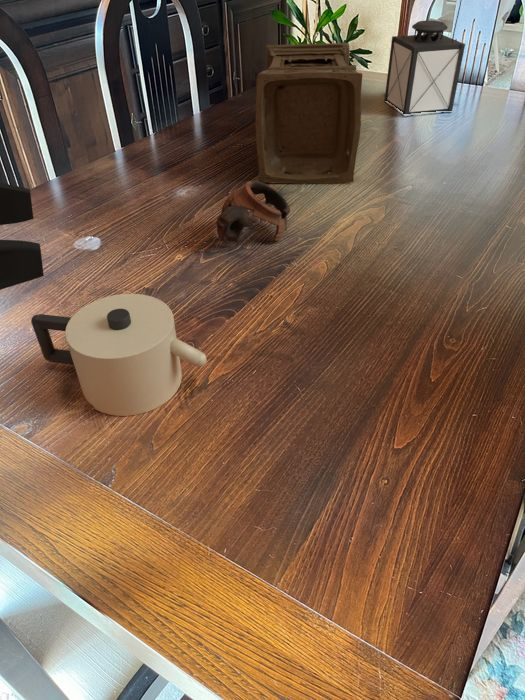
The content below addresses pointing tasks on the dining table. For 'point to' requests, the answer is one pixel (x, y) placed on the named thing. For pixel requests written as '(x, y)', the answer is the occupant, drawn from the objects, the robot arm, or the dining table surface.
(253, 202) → the brown hollow curved piece
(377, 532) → the dining table surface
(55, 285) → the dining table surface
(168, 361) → the kettle
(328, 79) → the ornamental box
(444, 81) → the lantern
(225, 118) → the dining table surface
